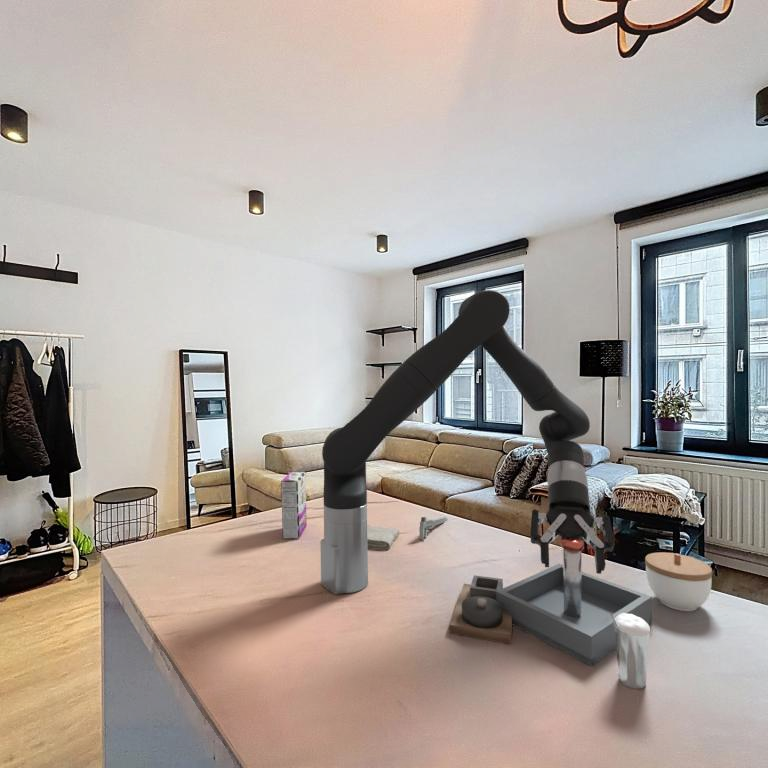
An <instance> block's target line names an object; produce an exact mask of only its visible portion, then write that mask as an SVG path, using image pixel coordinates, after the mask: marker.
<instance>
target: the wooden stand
mask: <svg viewBox="0 0 768 768" xmlns="http://www.w3.org/2000/svg"><path fill="white" fill-rule="evenodd" d="M503 587H504V581H503V578H497V577H491V576H490V577H489V576H483V575H475V574H474V575H473V577H472V581H471V583H470V584H468V583H463V586H462V588H461V591H460V594H459V596H458V599H457V602H456V606H455V609H454V611H453V614H452V617H451V620H450V622H449V634H451V635H456V636H457V635H458V636H463V637H468V638H469V637H470V638H474V639H481V640H486V641H493V642H498V643H504V644H511V643H512V641H511V640H512V633H513V631H512V630H513V624H512V616H511V615H509V614H508V613H506V612H504V611H503V608H502V605H501V604H500V603H499V602H498V601H496V591H499V590H501V589H503Z"/></svg>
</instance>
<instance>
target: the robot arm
mask: <svg viewBox="0 0 768 768" xmlns="http://www.w3.org/2000/svg"><path fill="white" fill-rule="evenodd" d="M457 315H458V316H456V318H454V320H453V321H452V322H451V323H450V324H449V325H448V327H446V328H445V329H444V330H443V331H442V332H441V333H439V334H438V335H437V336H435V337H434V338H432V339H431V340H430V341H428V342H426V343H425V344H424V345H422V346H421V347H420V348H418V349H417V350H416V351H415V352H414V353H412V354H411V355H410V356H409V357H408V358H407V359H406V360H404V361H403V362H402V363H401V365H399V366H398V367H397V368H396V369H395V370H394V371H393V372H392V374H390V376H389V377H388V378H387V379H386V380H385V381H384V383H383V384H382V385H381V386H380V387H379V389H378V390H377V392H376V393H375V394H374V395H373V396H372V398H371V400H370V401H369V403H368V404H366V406H365V407H364V408H363V409H362V410H361V411H360V412H359V413H358V414H356V416H354V417H353V418H352V419H351V420H349V422H347V423H346V424H345V425H344V426H342V427H339V428H338V427H337V428H336V429H333V430H332V431H330V432H329V434H328V435H327V436H326V438H325V440H324V442H323V446H322V450H321V451H322V452H321V456H322V460H323V524H324V525H323V533H324V534H323V538H324V539H320V543H319V544H320V585H321V586H323V587H324V588H325V589H327V590H328V591H329V592H331V594H333V595H338V594H351V593H356V592H359V591H362V590H364V589H365V588H366V587H367V586H368V584H369V564H368V563H369V556H368V555H369V554H368V552H369V551H368V549H369V548H368V544H367V525H368V490H367V489H368V488H367V487H368V485H367V461H368V459H369V458H370V456H372V454H373V453H374V452H375V450H376V449H377V448H378V447H379V445H380V444H381V443H383V441H384V439H386V437H387V436H388V435H389V434H391V432H392V431H393V430H394V429H396V428H397V427H398V426H399V425H401V424H402V423H403V422H404V421H406V420H407V419H408V417H410V416H411V415H412V414H414V413H415V412H416V411H417V410H418V409H419V408H421V406H422V405H423V404H424V403H425V402H427V401H428V400H429V398H431V397H432V395H434V394H435V393H436V392H437V390H438V389H439V388H440V387H441V386H442V385H443V384H444V383H445V382H446V381H447V380H448V379H449V378H450V377H451V375H453V373H454V372H455V371H456V370H457V369H458V368H459V367H460V365H461V364H462V363H463V362H464V361H465V360H466V358H468V357H469V355H471V353H473V352H474V351H475V350H476V349H478V347H480V346H481V347H482V348H483V349H484V351H486V352H487V353H488V355H490V356H491V358H492V359H493V360H494V361H495V362H496V364H497V365H498V366H499V367H500V368H501V370H502V371H503V372H504V374H505V375H506V376H507V377H508V378H509V380H510V381H511V382H512V384H513V385H514V386H515V388H516V390H517V391H518V392H519V393H520V395H521V397H522V398H523V399H524V400H525V401H526V403H527V405H528V406H529V407H530V408H531V409H532V410H533V411H535V412H544V411H553V412H552V413H549V414H546V415H545V416H544V417H542V418H541V420H540V422H539V425H538V430H539V433H540V435H541V438H542V440H543V443H544V446H545V449H546V452H547V456H548V457H547V460H548V463H547V465H548V472H547V487H546V488H547V500H548V501H547V502H548V503H547V505H548V511H547V512H539V510H537V509H536V508H535V509H532V511H531V519H530V520H531V521H530V523H531V524H530V537H529V538H530V543H531V544H533V545H535V544H536V545H538V546H539V547H540V562H541V564H542V565H544V568H550V552H549V551H550V549H549V547H550V544H551V543H552V542H554V541H555V540H556V539H557V538H558V536H559V537H560V538H562V537H566V536H570V537H577V538H580V539H582V540H583V541H584V542H585V543H586V544H587V545H589V546H590V547H591V548H592V549H593V551H594V561H595V572H596V574H602V571H603V572H604V571H605V568H606V558H605V553H606V552H610V553H611V552H613V551H614V547H615V545H616V544H615V536H614V533H613V527H612V522H611V517H610V515H607V514H604V515H603V516H601V517H598V516H597V517H595V516H593V515H592V513H591V503H590V496H589V495H590V494H589V485H588V477H587V474H586V467H585V458H584V451H583V448H582V447H581V445H580V444H579V443H577V442H575V441H572V440H575V439H577V438H581V437H582V436H585V435H586V434H588V432H589V431H590V427H591V425H590V424H591V423H590V419H589V417H588V415H587V413H586V412H585V411H584V409H582V408H581V407H580V406H579V405H578V404H577V403H575V402H574V401H573V400H571V399H570V398H569V397H567V395H565V393H563V392H561V391H560V390H559V389H558V388H557V387H556V385H555V384H554V382H553V381H552V380H551V378H550V377H549V375H548V373H546V371H545V370H544V369H543V367H542V366H541V365H540V364H539V363H538V362H537V361H536V360H535V359H534V358H532V356H530V355H529V354H528V353H527V352H525V350H523V348H521V347H520V346H519V345H518V344H517V342H516V341H515V340H514V339H513V337H511V336H510V335H509V333H508V331H507V330H506V328H505V324H506V323H507V321H508V319H509V316H510V303H509V300H508V299H507V296H505V295H504V294H503V293H502V292H499V291H497V290H492V289H487V290H486V289H485V290H480V291H477V292H476V293H474V294H472V295H470V296H469V297H467V298H465V299H464V300H463V301H462V302H461V304H460V306H459V308H458V313H457ZM544 521H546V523H548V525H549V527H547V529H546V531H545V532H544V533H543V534H542V535H539V525H542V524H543V522H544ZM594 525H596V526H597V527H598V529H599V530H601V531H602V532H603V533H602V534H603V540H604V541H602V540H601V539H600V538H599V537H598V536H597V534H596V532H595V531H594V530H593V529H592V528H593V527H594Z"/></svg>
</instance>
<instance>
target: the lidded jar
mask: <svg viewBox="0 0 768 768" xmlns="http://www.w3.org/2000/svg"><path fill="white" fill-rule="evenodd" d="M644 563H645V574H646V580H647V582H648V586H649V588H650V590H651V592H652V593H653V595H655V597H657V599H658V600H659V602H660V603H661V604H663V606H666V607H668V608H670V609H673V610H676V611H679V612H680V611H682V612H694V611H696V610H697V609H698V608H699V607H701V606H702V605H704V604H705V603H706V602H707V601H708V598H709V596H710V593H711V591H712V582H713V581H712V580H713V579H712V577H713V568H712V567H711V566H710V565H709V563H707V562H704V561H702V560H700V559H698V558H696V557H695V558H694V557H693V556H689V555H684V554H680V553H674V552H664V551H663V552H662V551H661V552H660V551H659V552H651V553H648V554H647V555H646V556H645V558H644Z"/></svg>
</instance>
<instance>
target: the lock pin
mask: <svg viewBox="0 0 768 768" xmlns="http://www.w3.org/2000/svg"><path fill="white" fill-rule="evenodd" d="M560 547H561V548H562V549H563V550H562V551H563V554H562V555H563V556H562V557H563V559H562V561H563V563H562V565H563V575H564V613H565V614H566V615H567V616H570V617H574V618H578V617H581V616H582V572H583V571H582V570H583V569H582V558H583V557H582V551H583V550H584V549H585V540H584V539H583V538H577V537H570V536H566V537H560Z"/></svg>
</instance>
